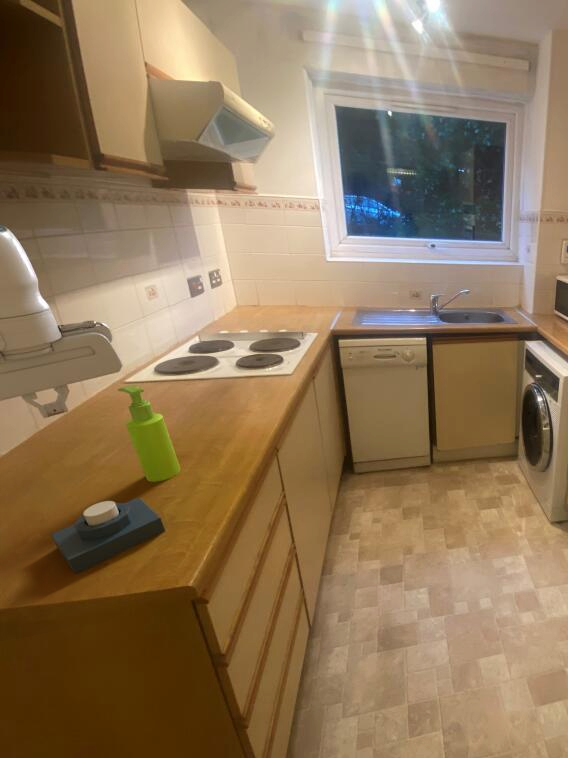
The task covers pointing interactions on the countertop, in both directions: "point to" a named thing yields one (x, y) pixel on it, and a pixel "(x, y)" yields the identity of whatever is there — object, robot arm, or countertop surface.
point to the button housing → (107, 535)
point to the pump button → (101, 513)
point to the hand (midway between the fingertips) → (55, 414)
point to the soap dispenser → (150, 438)
